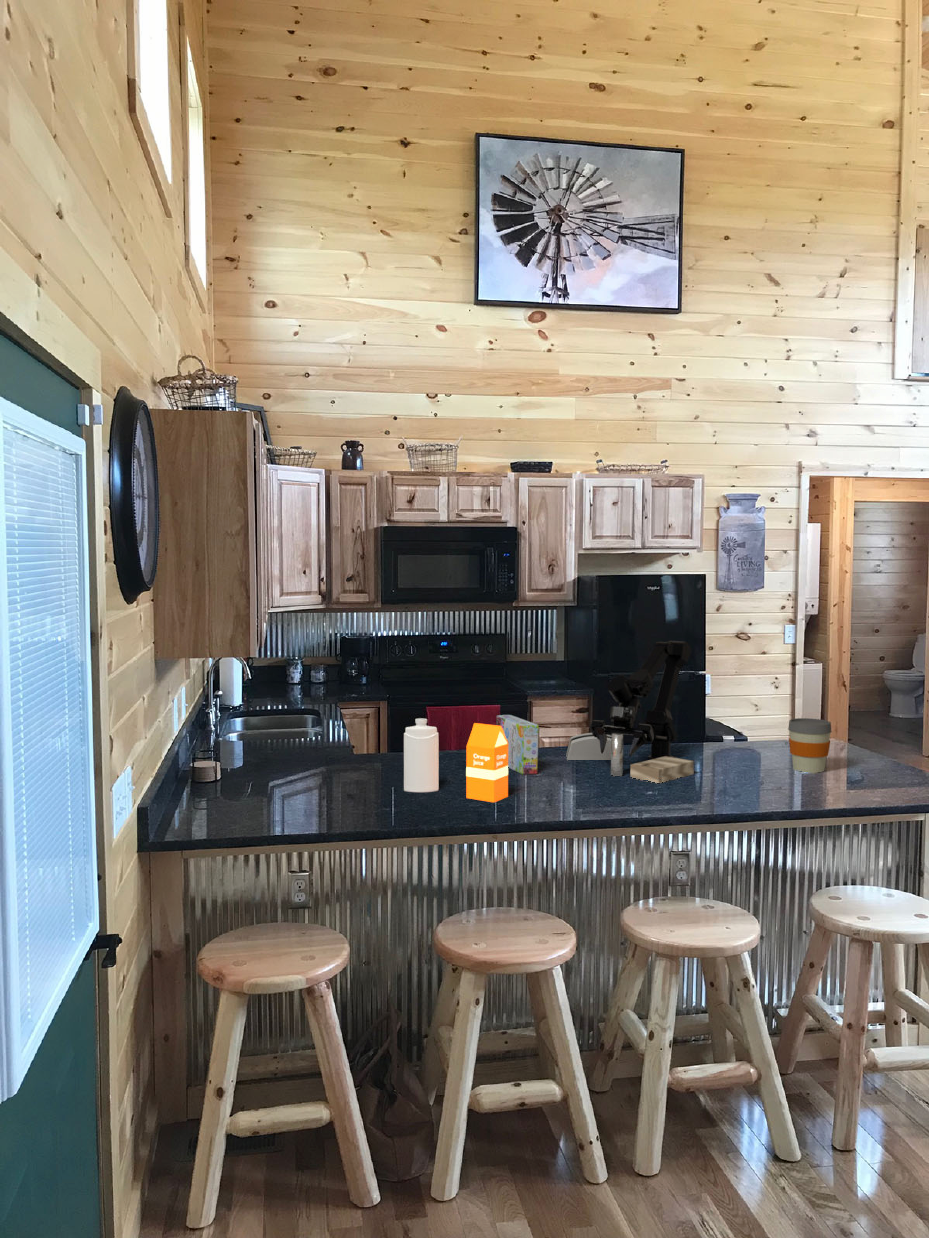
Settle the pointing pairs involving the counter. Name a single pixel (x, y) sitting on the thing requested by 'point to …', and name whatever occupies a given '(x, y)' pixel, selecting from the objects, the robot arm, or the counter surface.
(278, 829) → the counter surface
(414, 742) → the squeeze bottle
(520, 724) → the snack box
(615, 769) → the steel peg
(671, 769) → the birch hole board
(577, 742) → the napkin holder
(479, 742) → the orange juice
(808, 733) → the reusable coffee cup
